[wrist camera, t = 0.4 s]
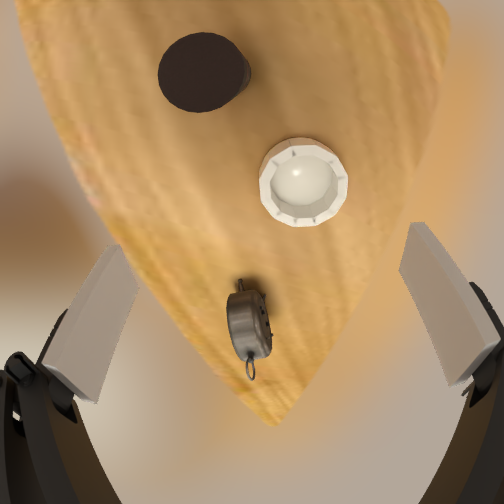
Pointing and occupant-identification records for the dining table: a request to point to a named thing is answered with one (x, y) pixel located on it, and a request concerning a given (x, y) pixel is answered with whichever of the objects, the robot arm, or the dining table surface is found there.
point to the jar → (302, 182)
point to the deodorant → (202, 72)
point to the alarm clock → (249, 326)
